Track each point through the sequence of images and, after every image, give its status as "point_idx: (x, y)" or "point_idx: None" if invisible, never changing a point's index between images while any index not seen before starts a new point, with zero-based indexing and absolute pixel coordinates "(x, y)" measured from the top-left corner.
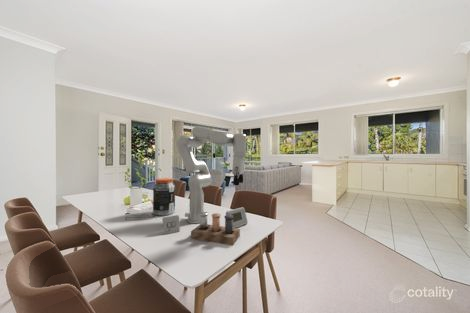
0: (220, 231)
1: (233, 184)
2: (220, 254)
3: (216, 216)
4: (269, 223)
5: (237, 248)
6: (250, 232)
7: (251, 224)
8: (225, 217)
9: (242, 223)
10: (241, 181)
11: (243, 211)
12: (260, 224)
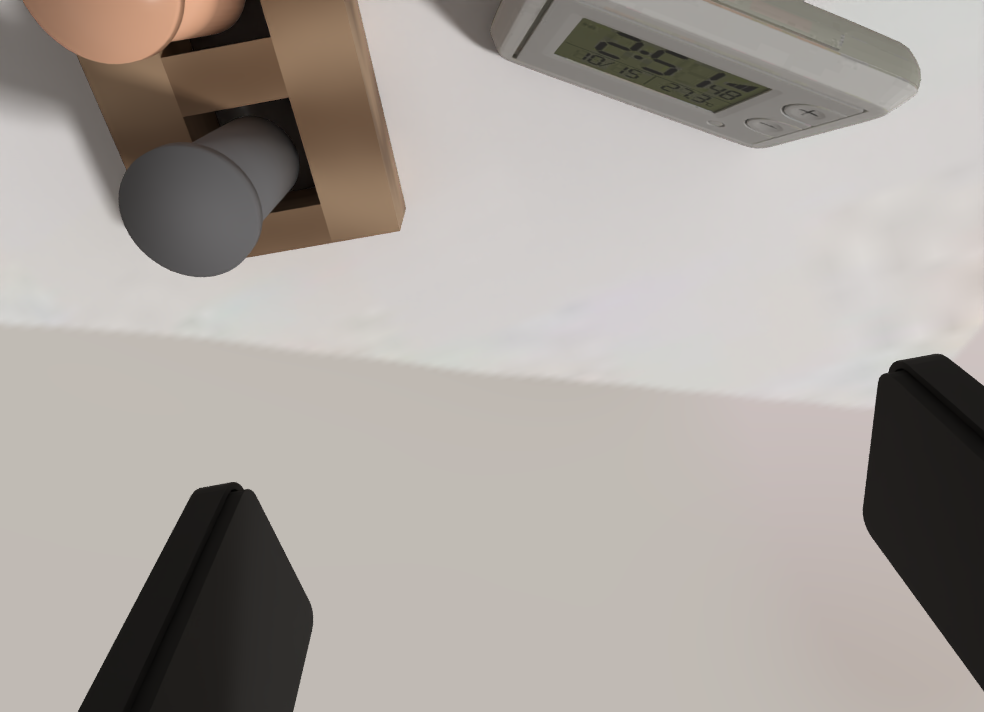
0: (199, 66)
1: (197, 495)
2: (4, 226)
3: (49, 30)
4: (847, 339)
5: (184, 296)
6: (539, 263)
7: (759, 186)
8: (121, 189)
9: (681, 117)
10: (892, 522)
11: (822, 113)
12: (790, 272)
